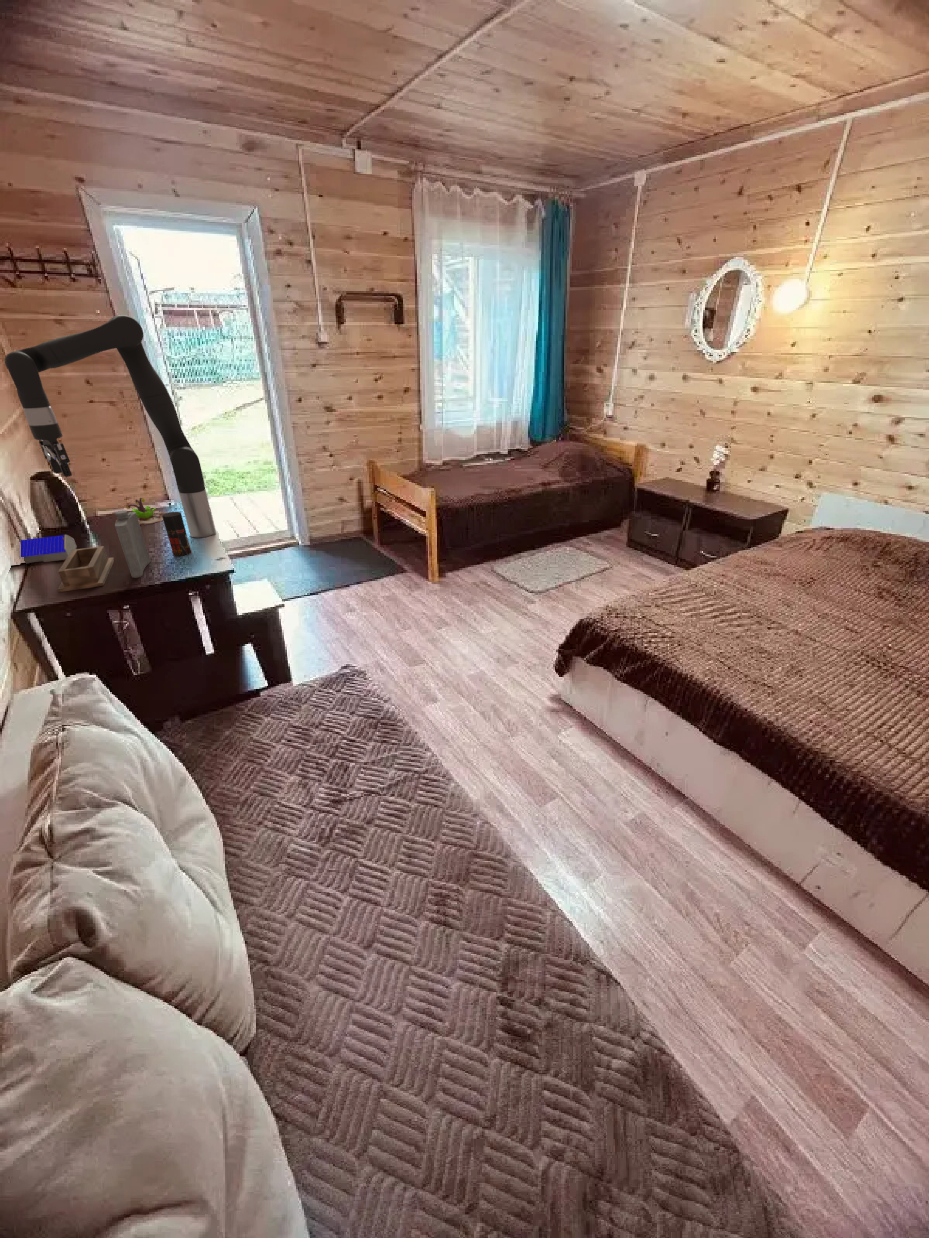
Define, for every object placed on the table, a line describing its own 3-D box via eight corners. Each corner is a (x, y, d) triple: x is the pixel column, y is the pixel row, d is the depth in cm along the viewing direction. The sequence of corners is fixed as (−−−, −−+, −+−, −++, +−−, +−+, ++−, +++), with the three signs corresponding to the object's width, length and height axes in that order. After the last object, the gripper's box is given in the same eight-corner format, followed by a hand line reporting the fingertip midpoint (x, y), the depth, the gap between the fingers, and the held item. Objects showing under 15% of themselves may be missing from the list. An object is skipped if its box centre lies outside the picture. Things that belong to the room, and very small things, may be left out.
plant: (135, 533, 211) (126, 506, 206) (110, 525, 221) (101, 499, 215) (181, 520, 226) (174, 495, 221) (156, 513, 236) (149, 488, 230)
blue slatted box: (77, 547, 196) (70, 528, 193) (68, 560, 185) (61, 540, 182) (6, 555, 189) (-2, 536, 186) (-7, 569, 178) (-17, 549, 174)
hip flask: (141, 577, 171) (122, 517, 162) (127, 578, 170) (107, 519, 161) (151, 559, 184) (134, 504, 175) (139, 561, 183) (121, 505, 174)
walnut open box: (114, 560, 184) (108, 543, 182) (103, 585, 165) (97, 568, 162) (74, 565, 180) (68, 548, 177) (58, 592, 161) (51, 574, 158)
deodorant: (172, 553, 190) (161, 513, 183) (190, 550, 193) (180, 510, 185) (174, 558, 185) (162, 517, 178) (192, 555, 188) (181, 515, 181)
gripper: (65, 422, 163) (84, 475, 170) (48, 419, 170) (67, 469, 178) (37, 426, 158) (58, 479, 165) (21, 422, 165) (42, 474, 173)
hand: (63, 474), depth 172 cm, fingers open, 8 cm apart
